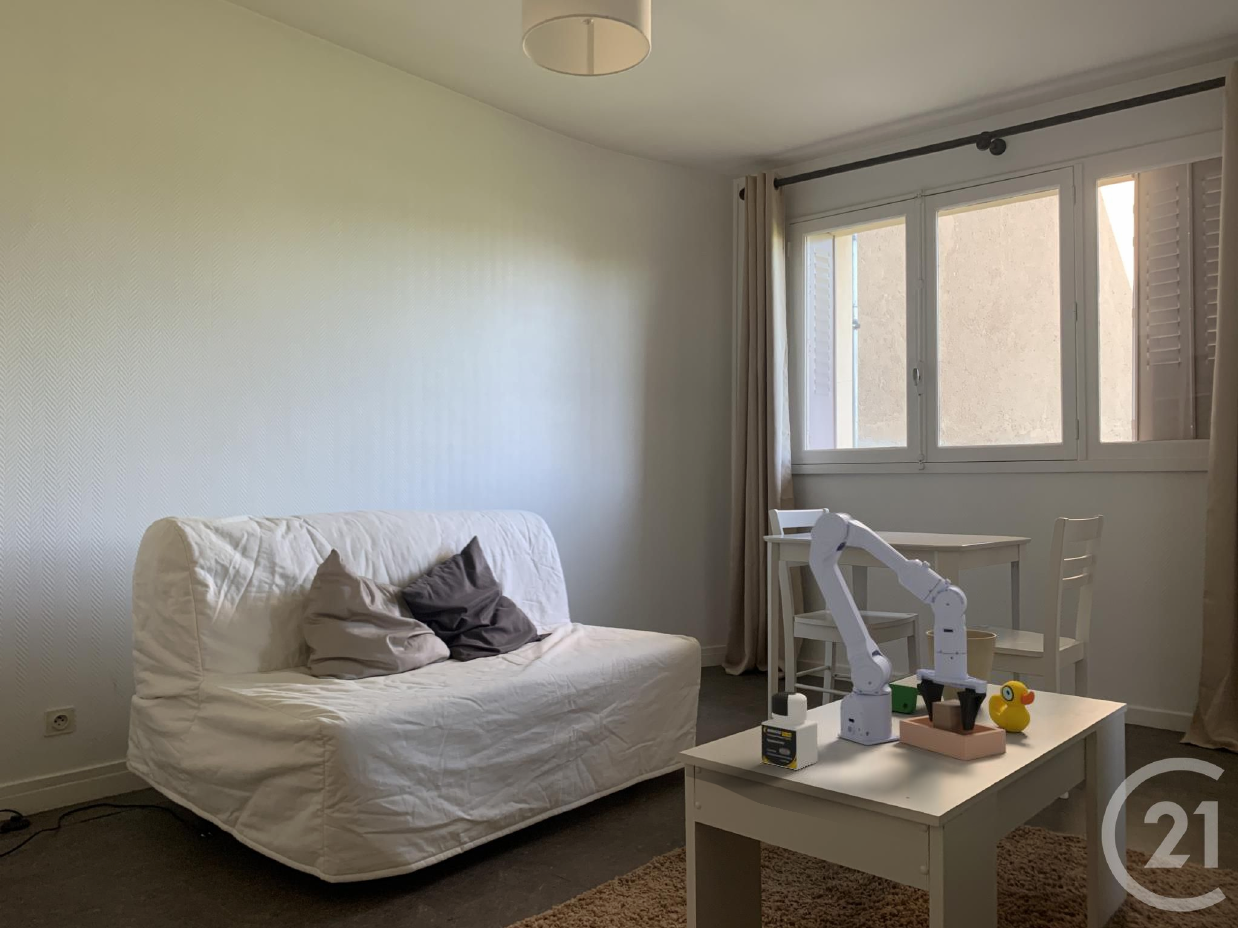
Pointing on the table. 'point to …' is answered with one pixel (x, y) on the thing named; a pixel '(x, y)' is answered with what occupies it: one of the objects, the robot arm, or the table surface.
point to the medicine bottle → (789, 733)
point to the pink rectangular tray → (953, 739)
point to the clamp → (904, 698)
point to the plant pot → (970, 658)
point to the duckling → (1011, 706)
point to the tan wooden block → (949, 717)
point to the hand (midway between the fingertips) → (951, 725)
